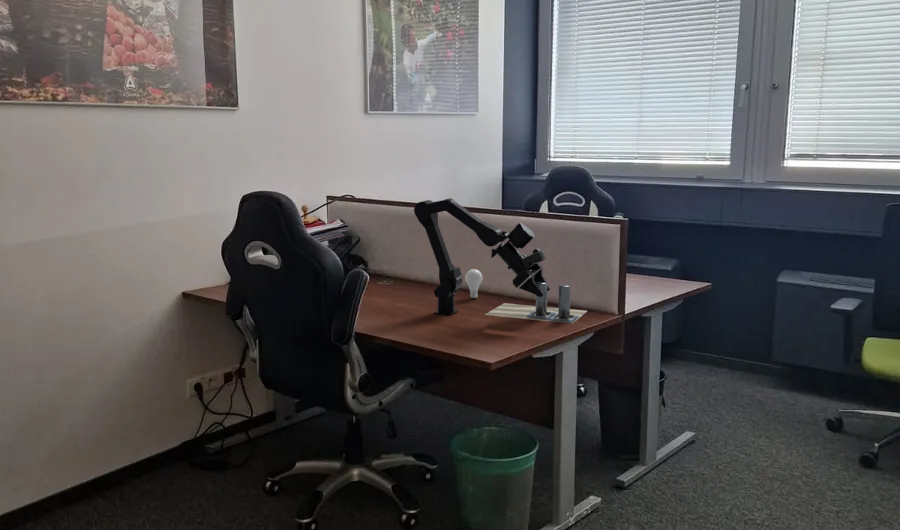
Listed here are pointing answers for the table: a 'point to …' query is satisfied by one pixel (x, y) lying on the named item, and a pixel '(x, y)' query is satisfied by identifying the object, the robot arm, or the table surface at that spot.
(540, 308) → the pin
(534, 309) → the board
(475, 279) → the lightbulb
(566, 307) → the fixed pin
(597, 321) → the table surface
